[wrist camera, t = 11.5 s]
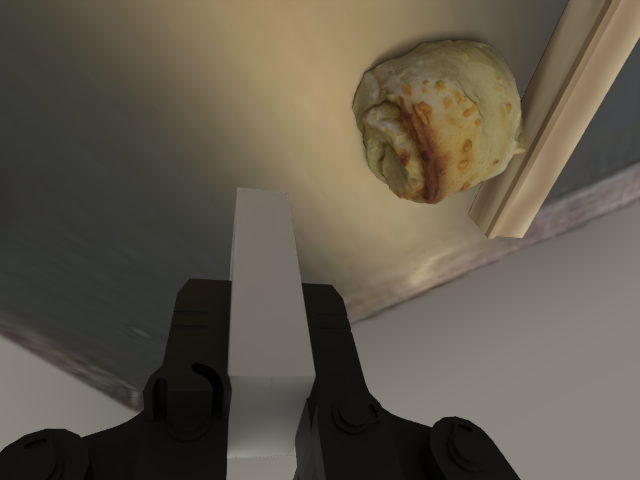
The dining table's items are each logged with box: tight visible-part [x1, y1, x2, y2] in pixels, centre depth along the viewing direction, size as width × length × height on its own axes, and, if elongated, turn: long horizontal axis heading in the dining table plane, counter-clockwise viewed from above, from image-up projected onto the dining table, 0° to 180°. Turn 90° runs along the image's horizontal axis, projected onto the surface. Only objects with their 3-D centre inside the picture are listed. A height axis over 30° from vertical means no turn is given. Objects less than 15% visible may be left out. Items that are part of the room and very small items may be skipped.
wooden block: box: [468, 0, 640, 239], centre depth 33 cm, size 4×20×4 cm, turn 169°
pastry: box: [353, 40, 526, 204], centre depth 30 cm, size 14×12×8 cm
